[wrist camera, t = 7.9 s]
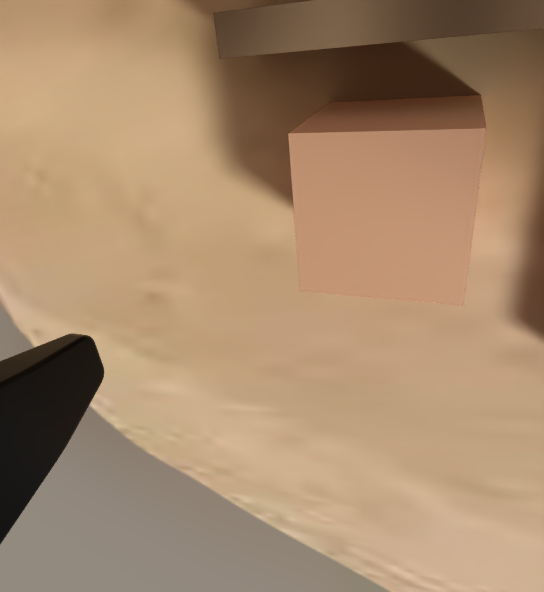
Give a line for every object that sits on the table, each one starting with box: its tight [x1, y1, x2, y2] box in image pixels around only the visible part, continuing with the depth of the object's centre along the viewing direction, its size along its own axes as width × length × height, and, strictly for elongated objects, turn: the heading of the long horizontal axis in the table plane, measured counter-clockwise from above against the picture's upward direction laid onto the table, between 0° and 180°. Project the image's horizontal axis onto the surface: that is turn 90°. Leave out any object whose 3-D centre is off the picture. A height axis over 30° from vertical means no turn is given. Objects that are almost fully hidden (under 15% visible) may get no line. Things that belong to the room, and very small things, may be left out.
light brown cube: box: [288, 95, 486, 306], centre depth 15 cm, size 5×5×5 cm
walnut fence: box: [213, 0, 544, 59], centre depth 16 cm, size 14×13×3 cm
